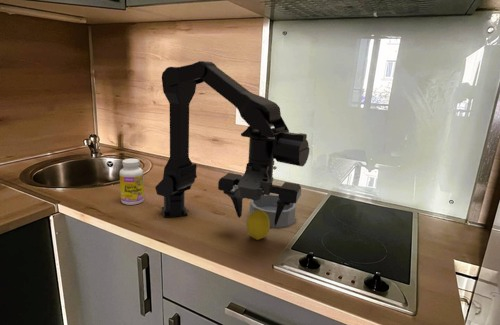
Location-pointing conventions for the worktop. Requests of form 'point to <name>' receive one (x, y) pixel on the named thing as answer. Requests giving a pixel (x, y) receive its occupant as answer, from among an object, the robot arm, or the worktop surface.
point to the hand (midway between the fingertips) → (257, 220)
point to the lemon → (258, 224)
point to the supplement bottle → (131, 182)
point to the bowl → (274, 210)
